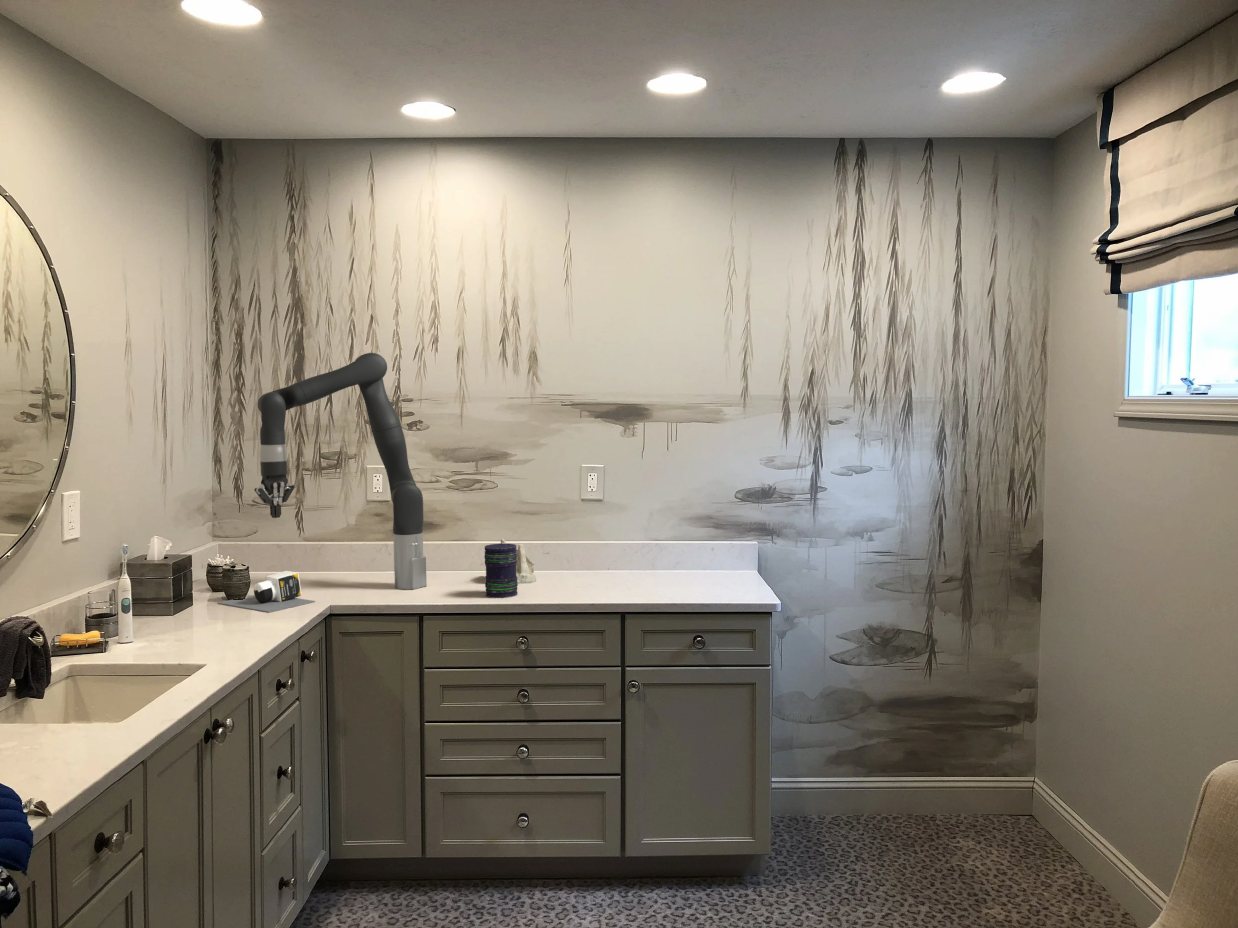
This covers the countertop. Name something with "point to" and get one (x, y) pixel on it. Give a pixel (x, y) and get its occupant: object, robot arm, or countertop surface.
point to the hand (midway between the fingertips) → (276, 517)
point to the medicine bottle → (278, 587)
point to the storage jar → (501, 570)
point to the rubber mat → (266, 604)
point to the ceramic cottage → (523, 566)
